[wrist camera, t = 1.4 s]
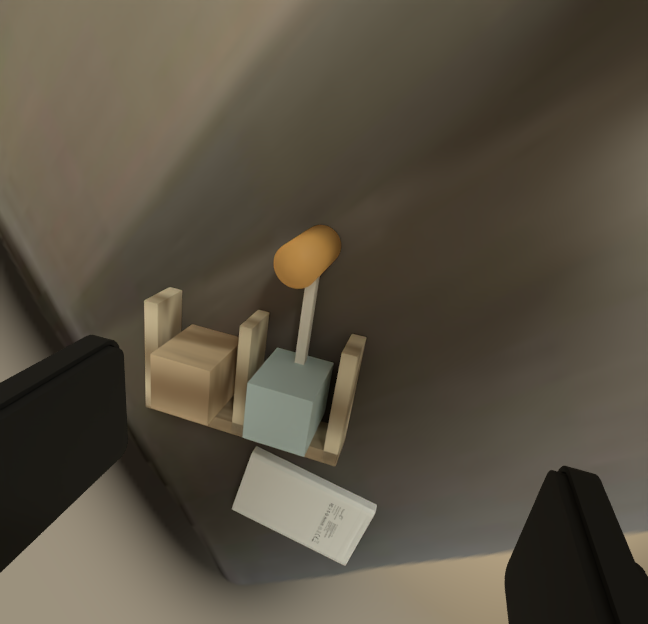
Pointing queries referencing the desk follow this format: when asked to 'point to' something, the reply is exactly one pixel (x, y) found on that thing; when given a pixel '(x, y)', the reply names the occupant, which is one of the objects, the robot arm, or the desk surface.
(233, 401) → the shelf lanes
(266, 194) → the desk surface
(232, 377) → the plain block
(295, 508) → the external hard drive
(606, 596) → the robot arm
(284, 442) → the block
